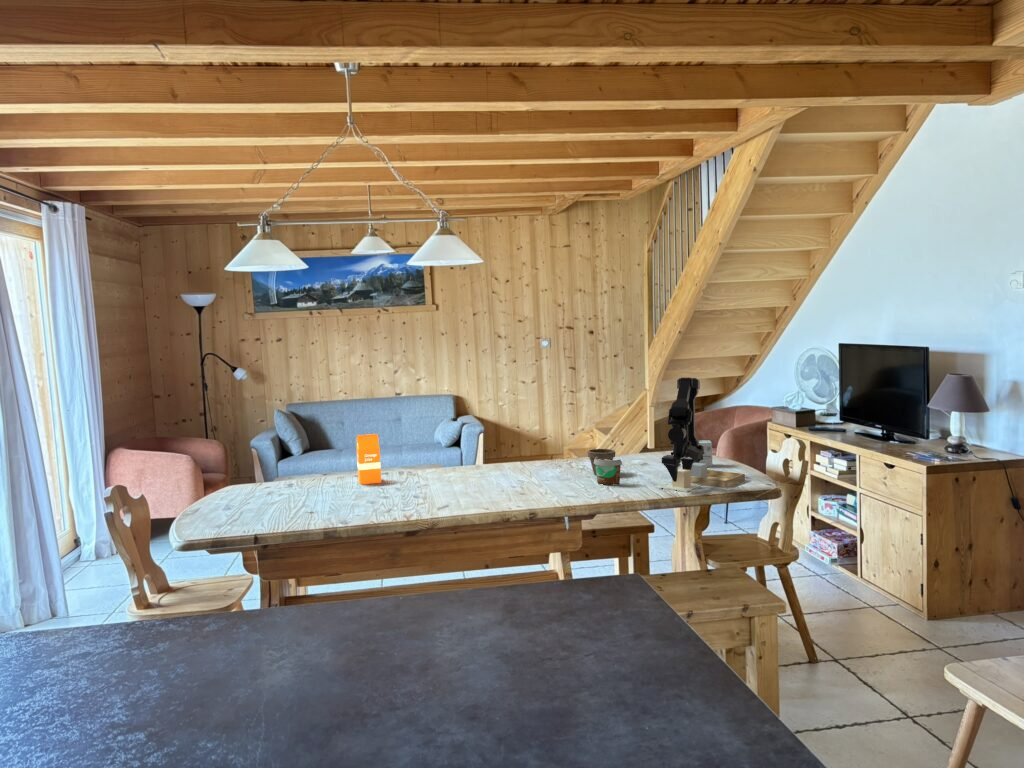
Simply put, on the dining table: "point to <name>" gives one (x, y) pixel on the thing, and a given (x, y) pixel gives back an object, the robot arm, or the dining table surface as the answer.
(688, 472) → the tan box
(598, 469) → the food container
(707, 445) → the light bulb box
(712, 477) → the wooden tray
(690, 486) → the sage tile
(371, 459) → the orange juice
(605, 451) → the flower pot
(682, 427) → the robot arm
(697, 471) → the blue-grey box
